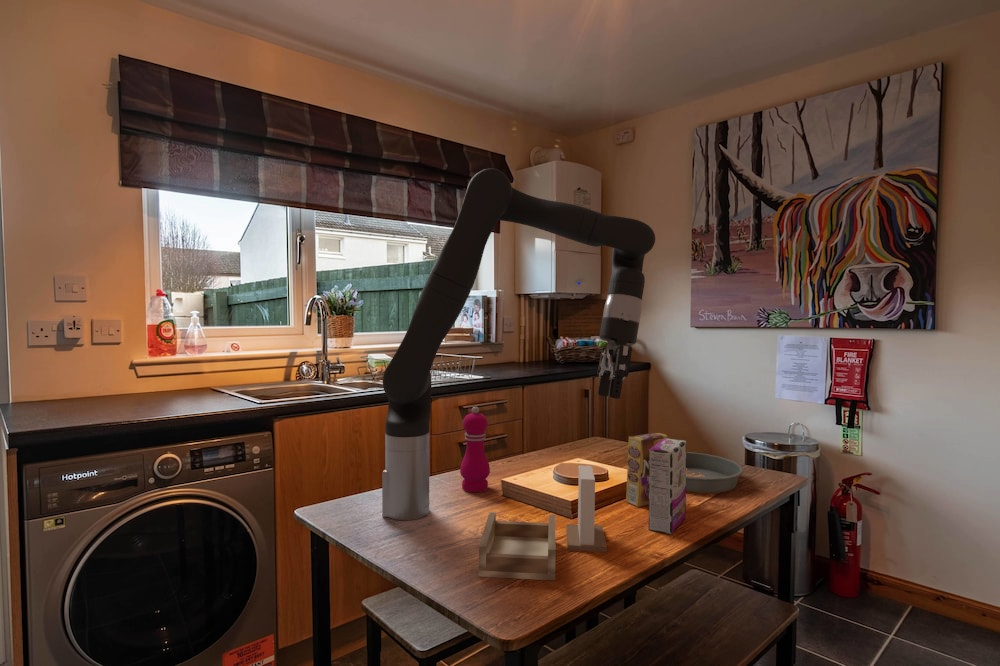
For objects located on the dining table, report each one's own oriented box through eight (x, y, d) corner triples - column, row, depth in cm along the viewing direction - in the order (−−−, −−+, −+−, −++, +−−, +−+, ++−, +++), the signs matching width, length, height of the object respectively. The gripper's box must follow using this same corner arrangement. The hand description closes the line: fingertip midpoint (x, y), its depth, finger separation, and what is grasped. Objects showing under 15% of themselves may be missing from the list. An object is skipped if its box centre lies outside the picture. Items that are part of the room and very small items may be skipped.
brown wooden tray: (478, 576, 91) (478, 546, 91) (489, 538, 107) (489, 512, 106) (555, 580, 90) (555, 549, 90) (554, 541, 105) (555, 514, 105)
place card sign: (567, 550, 101) (568, 479, 101) (566, 529, 111) (567, 464, 111) (606, 552, 101) (607, 480, 100) (602, 530, 111) (603, 465, 110)
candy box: (639, 508, 123) (641, 439, 123) (625, 502, 127) (626, 435, 126) (667, 501, 128) (668, 434, 128) (652, 495, 132) (653, 431, 131)
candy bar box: (662, 513, 121) (663, 437, 120) (686, 517, 118) (687, 440, 117) (646, 530, 111) (647, 448, 110) (671, 535, 108) (673, 451, 108)
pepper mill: (472, 482, 141) (473, 403, 141) (495, 487, 137) (496, 406, 136) (453, 489, 136) (454, 407, 135) (477, 495, 131) (477, 410, 130)
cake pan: (623, 479, 145) (623, 462, 145) (673, 462, 162) (673, 446, 162) (714, 503, 127) (715, 484, 127) (760, 481, 144) (760, 464, 144)
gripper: (594, 318, 122) (582, 392, 121) (612, 312, 108) (598, 395, 107) (628, 325, 123) (615, 398, 122) (650, 319, 109) (636, 402, 107)
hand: (607, 397), depth 114 cm, fingers open, 8 cm apart
